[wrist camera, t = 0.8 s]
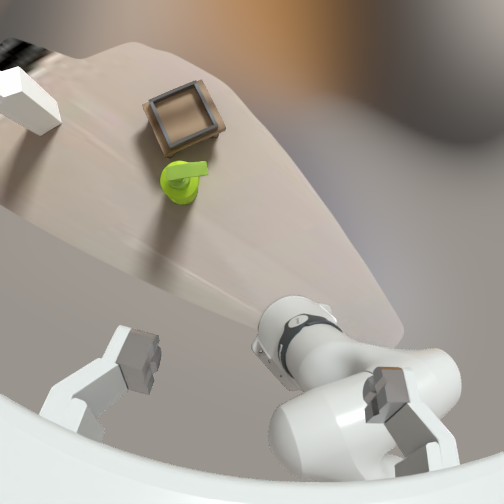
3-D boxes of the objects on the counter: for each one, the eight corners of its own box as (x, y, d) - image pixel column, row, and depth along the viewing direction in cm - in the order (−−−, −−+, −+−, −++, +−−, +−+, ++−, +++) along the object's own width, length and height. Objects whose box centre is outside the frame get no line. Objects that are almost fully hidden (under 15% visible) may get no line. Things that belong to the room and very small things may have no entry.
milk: (57, 101, 50) (11, 57, 28) (62, 123, 51) (13, 83, 29) (34, 115, 49) (-16, 78, 27) (39, 137, 50) (-15, 104, 28)
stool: (222, 136, 57) (226, 125, 50) (167, 161, 56) (163, 153, 49) (200, 92, 56) (202, 76, 48) (146, 115, 54) (140, 101, 47)
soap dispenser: (205, 201, 58) (210, 189, 38) (169, 207, 57) (157, 198, 37) (201, 171, 57) (204, 145, 38) (165, 177, 56) (152, 153, 37)
